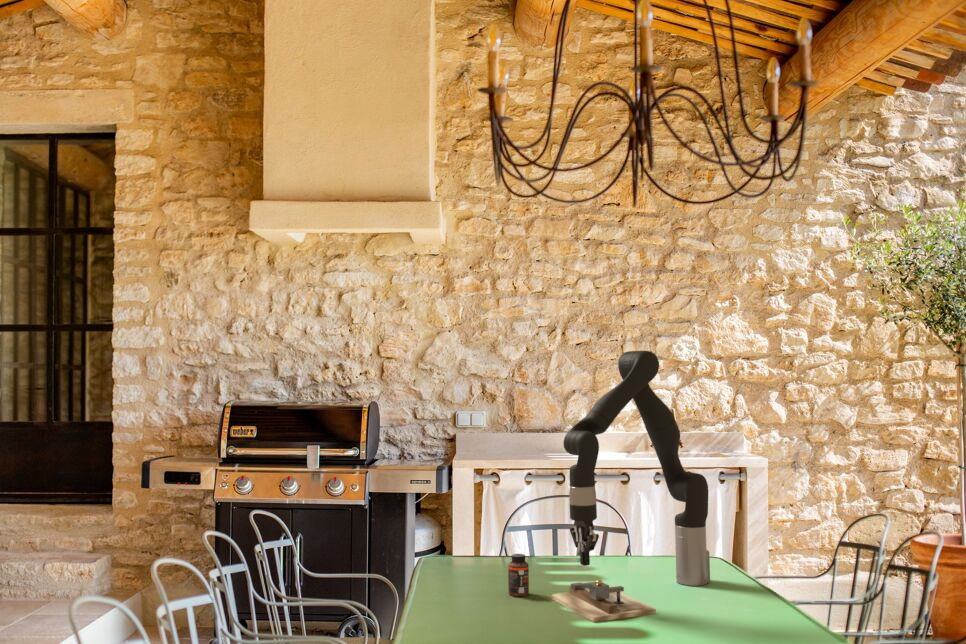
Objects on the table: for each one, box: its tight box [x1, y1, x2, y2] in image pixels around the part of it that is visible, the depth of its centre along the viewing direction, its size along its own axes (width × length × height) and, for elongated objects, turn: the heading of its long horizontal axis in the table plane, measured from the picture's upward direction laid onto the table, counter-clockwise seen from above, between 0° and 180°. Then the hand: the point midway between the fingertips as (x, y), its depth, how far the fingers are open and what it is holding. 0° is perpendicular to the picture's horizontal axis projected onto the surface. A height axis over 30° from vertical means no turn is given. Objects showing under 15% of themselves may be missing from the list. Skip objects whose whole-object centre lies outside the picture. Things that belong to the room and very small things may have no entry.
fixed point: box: [570, 581, 596, 590], centre depth 227 cm, size 9×2×3 cm, turn 112°
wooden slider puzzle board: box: [550, 585, 657, 623], centre depth 219 cm, size 19×24×3 cm
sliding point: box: [588, 579, 625, 602], centre depth 216 cm, size 9×4×6 cm, turn 112°
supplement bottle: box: [507, 553, 530, 598], centre depth 232 cm, size 6×6×11 cm
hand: (585, 564), depth 222 cm, fingers closed
